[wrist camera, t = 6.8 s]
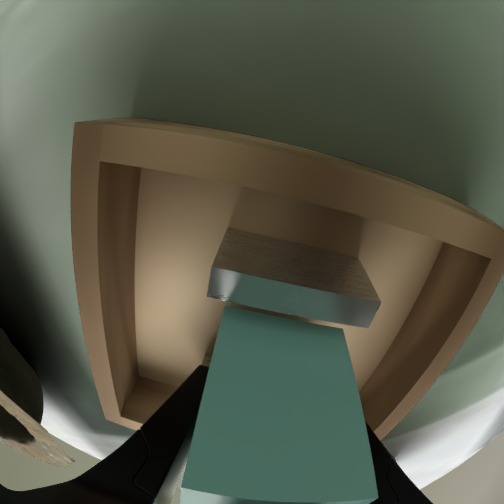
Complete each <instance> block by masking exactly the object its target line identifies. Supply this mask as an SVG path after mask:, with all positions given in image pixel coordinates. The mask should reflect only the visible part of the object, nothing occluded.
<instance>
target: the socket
mask: <svg viewBox="0 0 504 504" xmlns="http://www.w3.org/2000/svg"><path fill="white" fill-rule="evenodd" d="M207 297H210V298H214V299H218V300H223V301H227V302H232V303H236V304H241V305H245V306H250V307H255V308H259V309H264V310H269V311H274V312H279V313H284V314H289V315H294V316H300V317H305V318H310V319H316V320H321V321H327V322H333V323H338V324H344V325H350V326H356V327H363V328H369V326H370V324H371V322H372V321H373V319H374V317H375V315H376V313H377V311H378V309H379V307H380V305H381V303H382V302H381V300H380V298H379V296H378V294H377V292H376V290H375V288H374V286H373V284H372V282H371V280H370V278H369V277H368V275H367V273H366V271H365V269H364V267H363V265H362V263H361V261H360V260H359V258H358V257H355V256H351V255H346V254H342V253H338V252H334V251H330V250H325V249H321V248H317V247H313V246H308V245H304V244H300V243H296V242H291V241H287V240H283V239H278V238H274V237H269V236H265V235H261V234H256V233H252V232H247V231H243V230H238V229H234V228H229V227H227V229H226V232H225V234H224V237H223V239H222V242H221V244H220V247H219V249H218V252H217V254H216V257H215V259H214V262H213V264H212V267H211V273H210V279H209V285H208V291H207ZM212 355H213V354H208V353H205V354H204V358H203V362H202V365H206V366H210V363H211V359H212Z"/></svg>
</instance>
